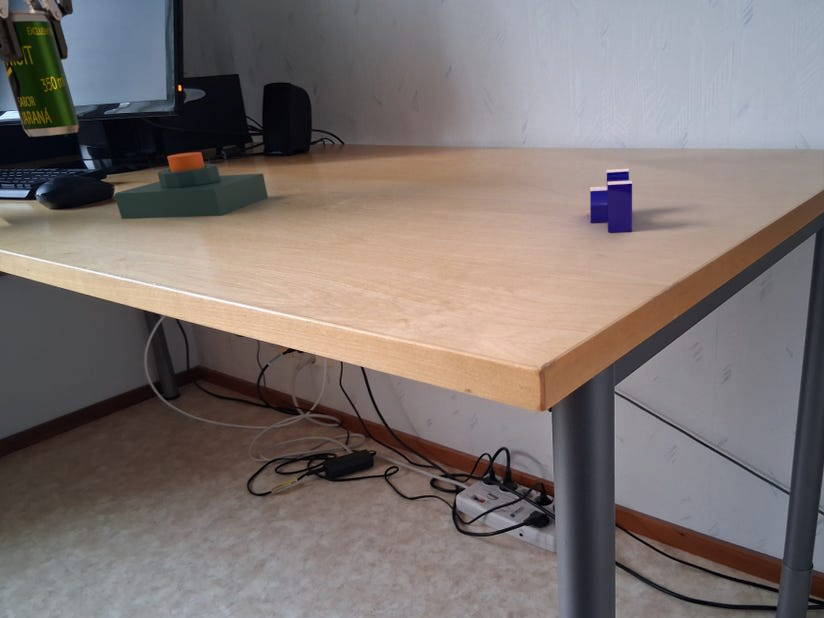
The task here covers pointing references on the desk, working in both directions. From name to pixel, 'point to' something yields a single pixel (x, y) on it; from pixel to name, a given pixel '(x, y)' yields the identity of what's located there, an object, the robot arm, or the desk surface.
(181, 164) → the orange push button
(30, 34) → the soda can
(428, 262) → the desk surface
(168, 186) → the button base
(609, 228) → the cable holder
